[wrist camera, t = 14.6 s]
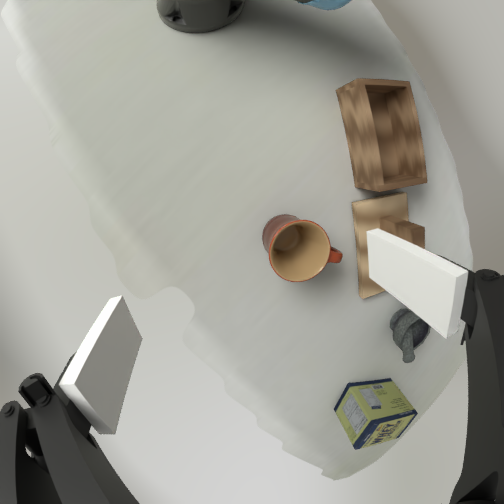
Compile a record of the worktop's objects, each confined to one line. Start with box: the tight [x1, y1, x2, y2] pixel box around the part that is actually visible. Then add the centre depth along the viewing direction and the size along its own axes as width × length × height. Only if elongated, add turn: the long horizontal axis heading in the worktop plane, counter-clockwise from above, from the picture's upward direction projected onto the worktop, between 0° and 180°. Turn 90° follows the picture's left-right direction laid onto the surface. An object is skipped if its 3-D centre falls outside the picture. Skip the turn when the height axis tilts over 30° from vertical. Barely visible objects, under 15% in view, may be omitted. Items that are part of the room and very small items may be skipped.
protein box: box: [334, 378, 418, 450], centre depth 56 cm, size 10×16×16 cm
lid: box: [352, 192, 425, 299], centre depth 44 cm, size 19×12×12 cm, turn 12°
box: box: [336, 79, 427, 192], centre depth 39 cm, size 18×11×8 cm, turn 12°
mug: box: [262, 214, 343, 282], centre depth 42 cm, size 12×9×10 cm
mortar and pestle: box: [390, 309, 431, 363], centre depth 51 cm, size 11×9×12 cm
